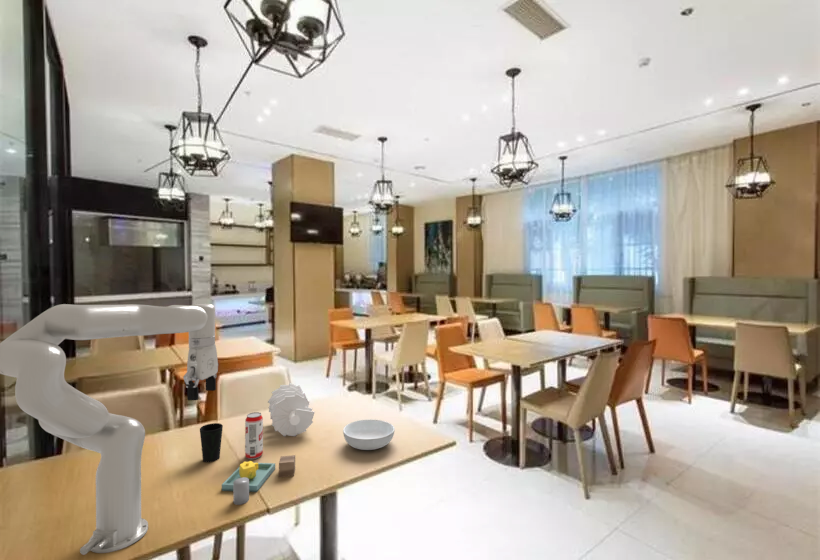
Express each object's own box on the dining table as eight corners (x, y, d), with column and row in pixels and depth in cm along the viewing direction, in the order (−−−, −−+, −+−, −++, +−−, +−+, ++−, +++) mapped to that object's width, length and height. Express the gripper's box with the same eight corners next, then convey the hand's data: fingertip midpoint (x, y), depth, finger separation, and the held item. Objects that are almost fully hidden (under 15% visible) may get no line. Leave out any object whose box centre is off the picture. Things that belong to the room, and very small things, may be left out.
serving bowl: (401, 451, 152) (401, 434, 152) (349, 460, 145) (349, 442, 144) (385, 431, 172) (385, 416, 171) (338, 438, 164) (338, 422, 164)
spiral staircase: (283, 449, 162) (276, 425, 184) (322, 426, 168) (310, 405, 190) (263, 414, 157) (259, 393, 180) (304, 391, 163) (294, 374, 186)
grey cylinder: (244, 505, 117) (244, 485, 116) (230, 504, 117) (230, 484, 117) (251, 496, 121) (251, 477, 121) (237, 496, 121) (237, 477, 121)
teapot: (262, 479, 130) (262, 464, 130) (244, 485, 126) (244, 469, 126) (254, 470, 136) (254, 455, 136) (237, 475, 132) (237, 460, 132)
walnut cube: (294, 476, 133) (294, 461, 133) (278, 477, 132) (278, 463, 132) (295, 468, 138) (295, 455, 138) (280, 470, 137) (280, 456, 137)
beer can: (243, 461, 143) (244, 418, 143) (246, 453, 149) (246, 412, 149) (262, 459, 145) (262, 416, 145) (263, 451, 151) (263, 411, 151)
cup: (213, 464, 141) (213, 432, 140) (194, 462, 142) (194, 430, 142) (227, 455, 148) (227, 424, 148) (209, 453, 150) (209, 422, 149)
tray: (257, 492, 123) (257, 485, 123) (221, 490, 124) (221, 484, 124) (275, 468, 138) (275, 463, 138) (243, 467, 139) (243, 462, 139)
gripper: (197, 347, 116) (197, 404, 116) (227, 338, 133) (227, 387, 134) (173, 347, 116) (173, 403, 117) (206, 337, 134) (206, 386, 134)
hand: (202, 394), depth 125 cm, fingers open, 9 cm apart
